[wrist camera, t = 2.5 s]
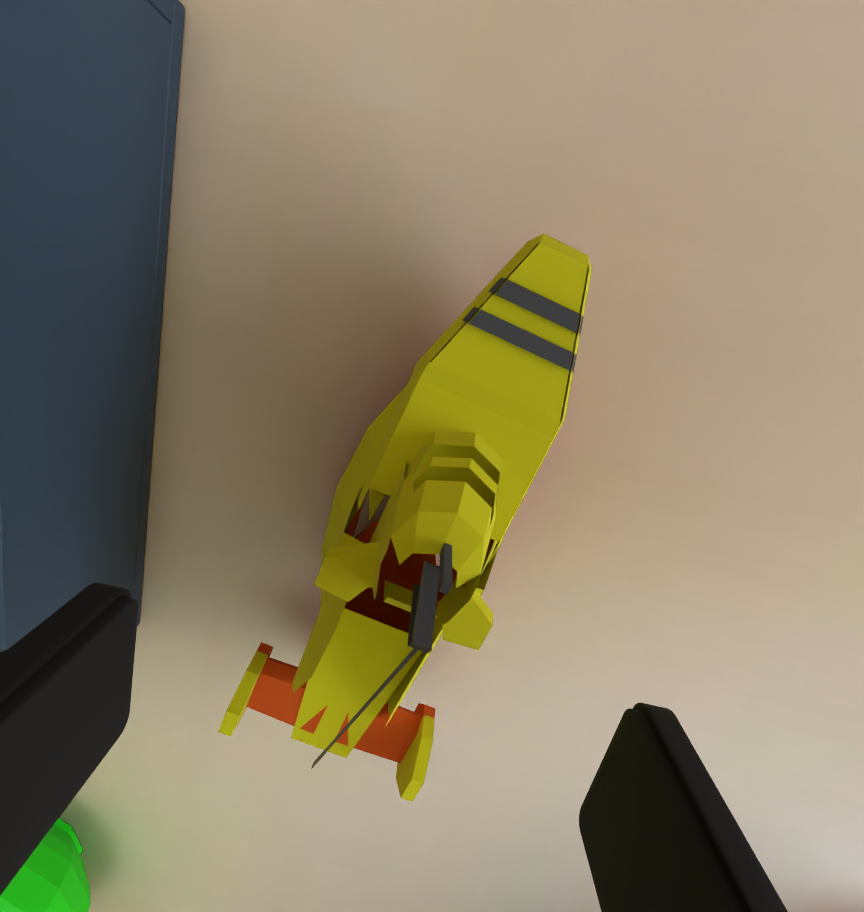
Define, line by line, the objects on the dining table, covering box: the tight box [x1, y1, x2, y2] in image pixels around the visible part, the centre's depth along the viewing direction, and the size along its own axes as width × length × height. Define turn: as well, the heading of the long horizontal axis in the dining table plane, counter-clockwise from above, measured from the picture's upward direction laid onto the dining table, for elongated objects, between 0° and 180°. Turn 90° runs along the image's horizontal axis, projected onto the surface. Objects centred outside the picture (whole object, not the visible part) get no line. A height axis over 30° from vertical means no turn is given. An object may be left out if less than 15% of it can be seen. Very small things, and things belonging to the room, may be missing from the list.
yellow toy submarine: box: [218, 234, 591, 801], centre depth 14 cm, size 6×18×10 cm, turn 156°
